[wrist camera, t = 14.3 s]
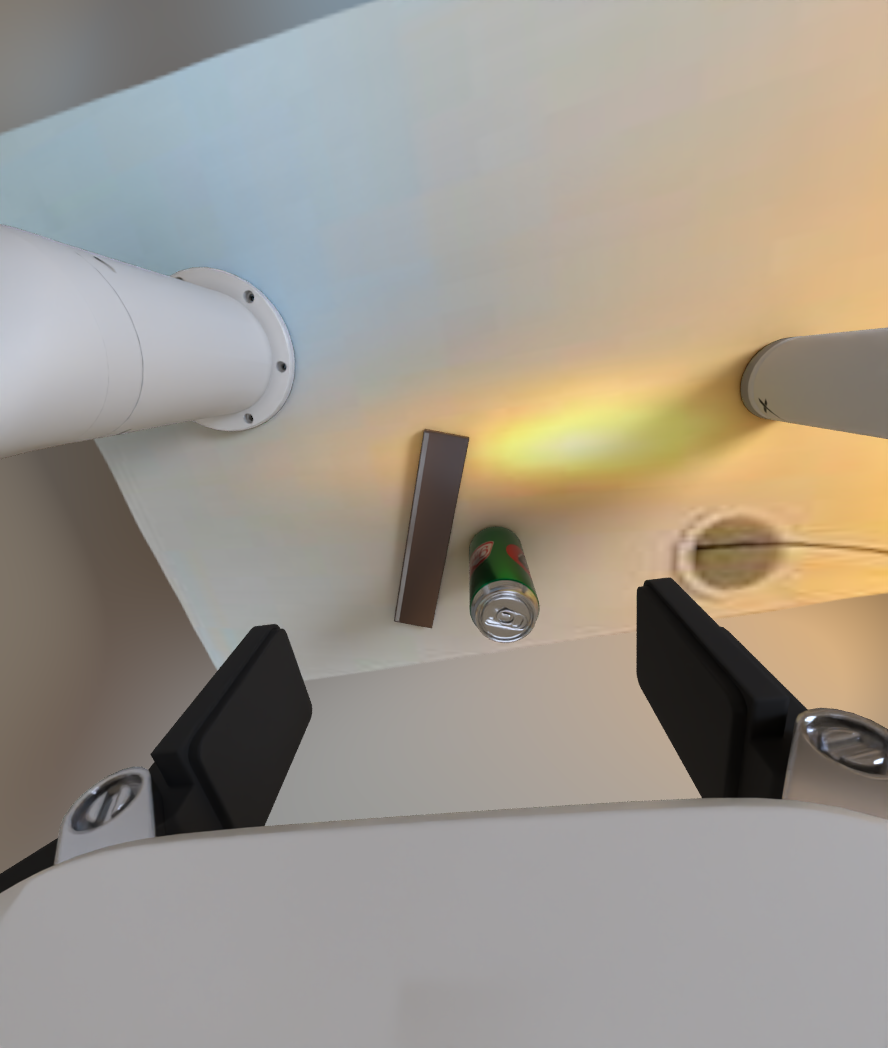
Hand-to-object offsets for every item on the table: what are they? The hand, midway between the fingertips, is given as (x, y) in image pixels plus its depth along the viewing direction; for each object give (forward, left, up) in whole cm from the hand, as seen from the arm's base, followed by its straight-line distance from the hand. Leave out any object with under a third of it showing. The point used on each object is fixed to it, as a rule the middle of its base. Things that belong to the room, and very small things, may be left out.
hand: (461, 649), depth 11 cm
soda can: (+5, -9, -28) cm, 30 cm away
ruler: (-2, -9, -28) cm, 29 cm away
